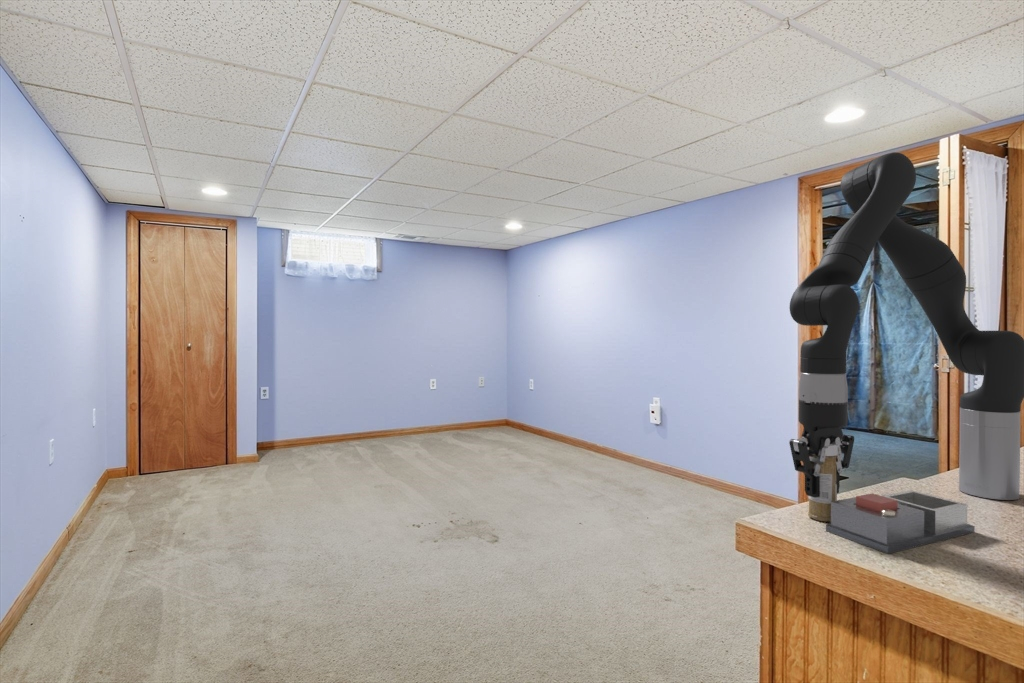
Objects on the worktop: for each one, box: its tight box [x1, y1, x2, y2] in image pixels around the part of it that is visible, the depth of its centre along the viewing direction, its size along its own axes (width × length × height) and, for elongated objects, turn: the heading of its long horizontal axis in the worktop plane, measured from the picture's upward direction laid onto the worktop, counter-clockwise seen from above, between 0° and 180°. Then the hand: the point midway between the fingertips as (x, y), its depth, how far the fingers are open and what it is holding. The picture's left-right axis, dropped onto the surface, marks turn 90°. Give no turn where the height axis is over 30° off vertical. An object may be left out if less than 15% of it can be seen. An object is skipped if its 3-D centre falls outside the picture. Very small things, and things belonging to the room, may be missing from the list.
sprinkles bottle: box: [807, 444, 838, 523], centre depth 95 cm, size 5×5×14 cm
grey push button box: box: [825, 490, 976, 554], centre depth 89 cm, size 22×10×6 cm, turn 113°
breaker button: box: [855, 493, 897, 512], centre depth 86 cm, size 4×4×5 cm
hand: (822, 493), depth 95 cm, fingers closed on sprinkles bottle, 4 cm apart
